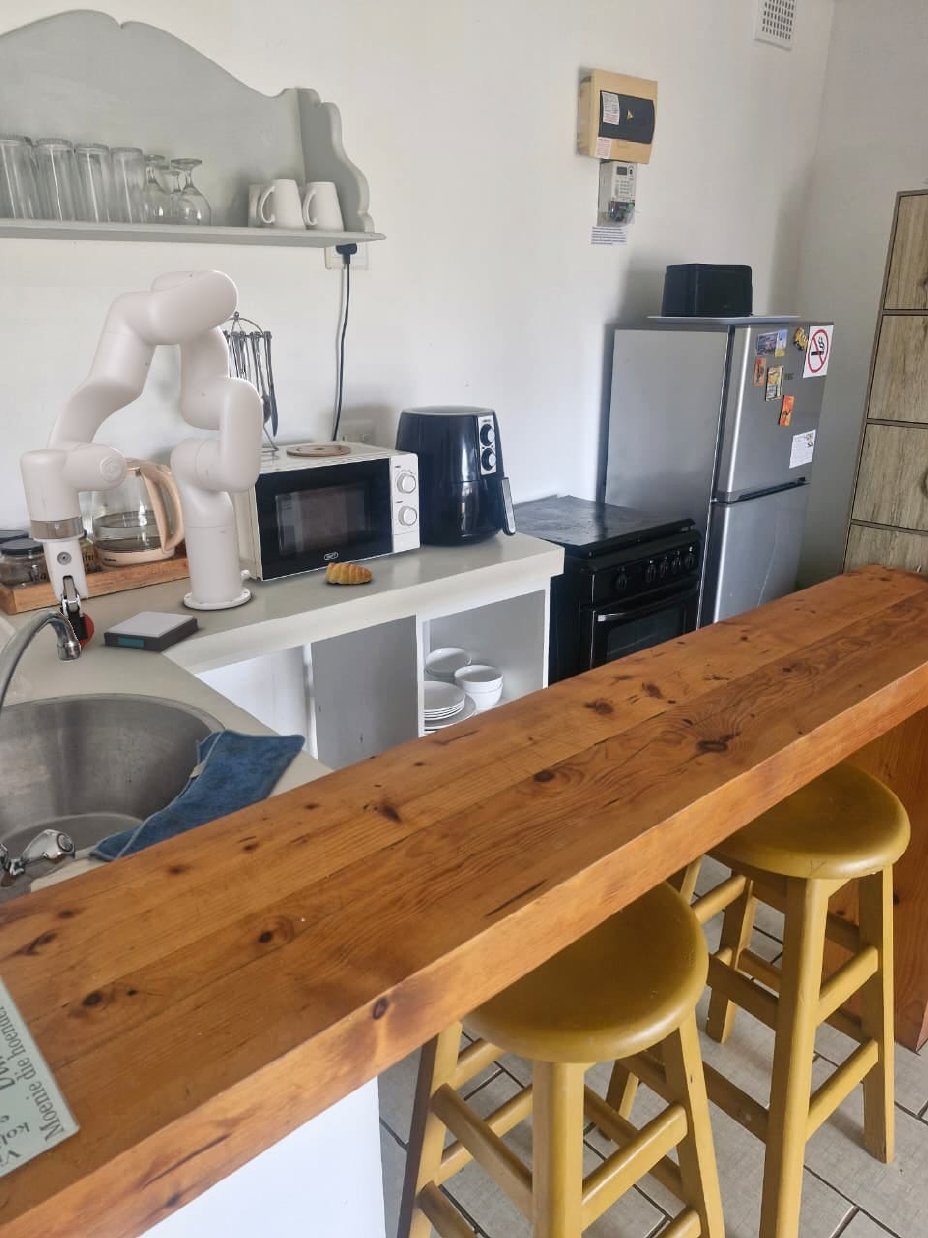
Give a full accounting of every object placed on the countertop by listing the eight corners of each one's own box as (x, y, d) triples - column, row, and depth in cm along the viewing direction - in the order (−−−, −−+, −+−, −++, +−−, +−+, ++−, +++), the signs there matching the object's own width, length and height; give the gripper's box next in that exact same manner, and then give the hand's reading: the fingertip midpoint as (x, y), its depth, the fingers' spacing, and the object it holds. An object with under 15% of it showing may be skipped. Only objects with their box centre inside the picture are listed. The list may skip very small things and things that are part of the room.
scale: (145, 624, 157) (143, 610, 156) (198, 629, 154) (196, 614, 153) (104, 646, 147) (101, 630, 146) (160, 652, 144) (157, 636, 143)
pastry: (375, 577, 184) (374, 559, 183) (368, 586, 178) (367, 568, 177) (331, 576, 186) (330, 558, 184) (323, 585, 179) (322, 567, 178)
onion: (83, 657, 142) (75, 611, 139) (52, 655, 143) (43, 609, 141) (104, 644, 147) (96, 600, 145) (73, 642, 149) (66, 598, 146)
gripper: (89, 536, 133) (106, 646, 139) (77, 515, 147) (93, 616, 153) (35, 542, 130) (55, 654, 136) (29, 520, 144) (47, 623, 150)
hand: (75, 633), depth 144 cm, fingers closed on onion, 5 cm apart
